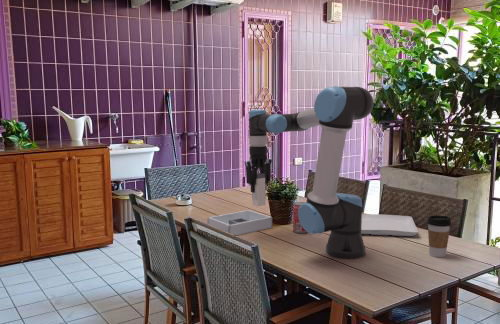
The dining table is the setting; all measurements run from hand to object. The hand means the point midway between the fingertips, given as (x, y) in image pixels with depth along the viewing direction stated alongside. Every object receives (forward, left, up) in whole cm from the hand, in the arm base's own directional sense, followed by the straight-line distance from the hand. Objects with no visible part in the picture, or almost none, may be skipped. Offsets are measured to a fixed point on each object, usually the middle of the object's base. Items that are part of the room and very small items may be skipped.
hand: (258, 198), depth 212 cm
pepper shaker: (0, 0, -3) cm, 3 cm away
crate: (+14, 0, -16) cm, 22 cm away
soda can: (-8, -18, -16) cm, 26 cm away
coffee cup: (-63, -38, -16) cm, 75 cm away
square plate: (-28, -51, -17) cm, 60 cm away
